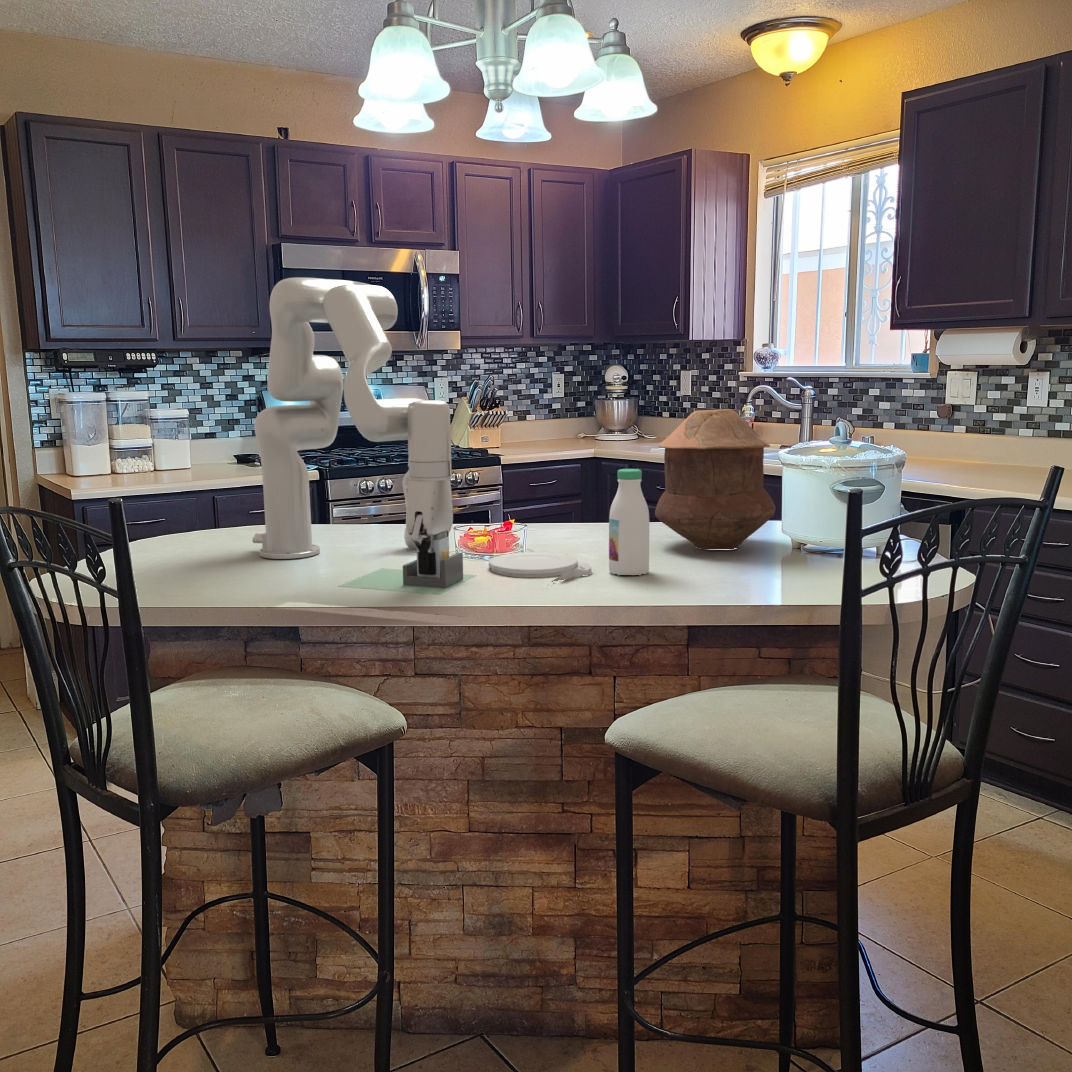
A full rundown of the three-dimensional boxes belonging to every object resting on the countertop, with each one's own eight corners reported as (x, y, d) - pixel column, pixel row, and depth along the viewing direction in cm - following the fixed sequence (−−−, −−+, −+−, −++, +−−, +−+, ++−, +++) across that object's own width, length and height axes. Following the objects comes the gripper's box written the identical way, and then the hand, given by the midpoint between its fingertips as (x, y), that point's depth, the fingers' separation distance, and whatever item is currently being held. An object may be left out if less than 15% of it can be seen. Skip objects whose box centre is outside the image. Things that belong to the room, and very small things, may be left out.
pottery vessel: (778, 561, 200) (783, 412, 195) (651, 558, 205) (652, 412, 200) (770, 538, 226) (774, 405, 220) (657, 536, 230) (659, 406, 225)
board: (338, 592, 177) (338, 586, 177) (382, 574, 192) (381, 568, 192) (439, 601, 170) (439, 594, 170) (476, 581, 185) (476, 575, 185)
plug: (417, 577, 178) (416, 533, 176) (427, 573, 182) (426, 530, 180) (442, 579, 176) (441, 535, 175) (452, 574, 180) (451, 531, 178)
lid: (601, 582, 185) (601, 566, 184) (495, 587, 181) (494, 571, 181) (581, 564, 201) (581, 549, 201) (483, 568, 198) (483, 553, 197)
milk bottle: (652, 569, 194) (654, 468, 190) (643, 578, 186) (644, 472, 183) (614, 567, 196) (614, 466, 193) (604, 575, 189) (604, 471, 185)
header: (403, 585, 177) (402, 557, 176) (422, 576, 184) (421, 550, 183) (445, 588, 174) (445, 560, 173) (463, 579, 181) (462, 552, 180)
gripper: (432, 465, 185) (434, 561, 188) (388, 475, 169) (392, 580, 172) (468, 466, 182) (471, 563, 185) (428, 476, 167) (431, 582, 170)
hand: (433, 570), depth 179 cm, fingers closed on plug, 4 cm apart
